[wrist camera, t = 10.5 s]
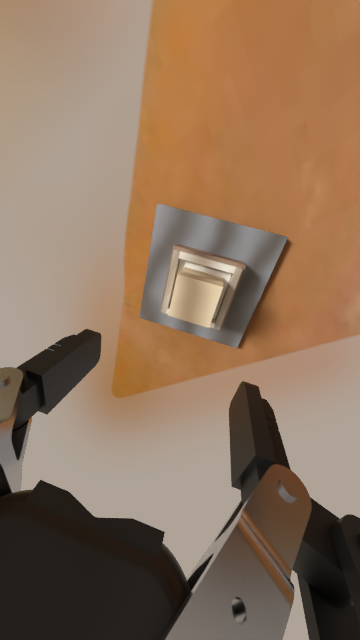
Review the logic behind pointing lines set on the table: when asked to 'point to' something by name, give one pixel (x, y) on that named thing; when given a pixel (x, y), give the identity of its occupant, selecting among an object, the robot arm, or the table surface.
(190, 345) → the table surface
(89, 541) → the robot arm
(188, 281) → the maple cube
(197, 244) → the plate
